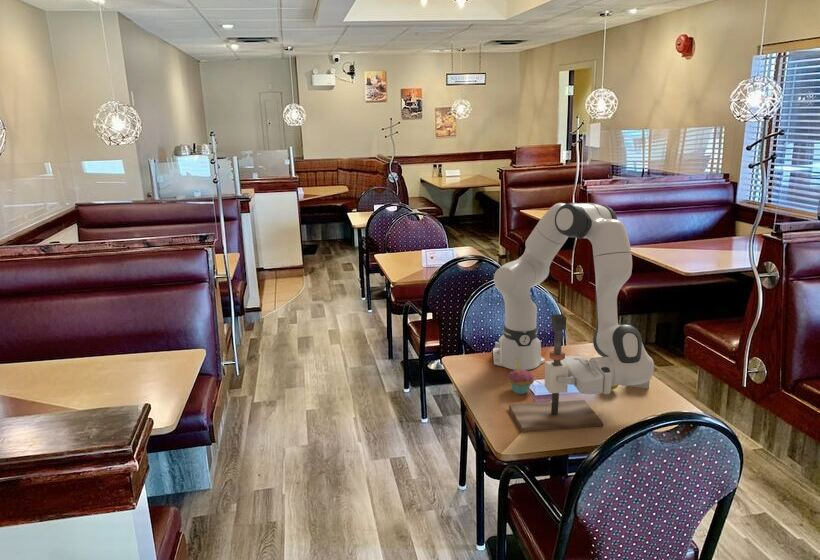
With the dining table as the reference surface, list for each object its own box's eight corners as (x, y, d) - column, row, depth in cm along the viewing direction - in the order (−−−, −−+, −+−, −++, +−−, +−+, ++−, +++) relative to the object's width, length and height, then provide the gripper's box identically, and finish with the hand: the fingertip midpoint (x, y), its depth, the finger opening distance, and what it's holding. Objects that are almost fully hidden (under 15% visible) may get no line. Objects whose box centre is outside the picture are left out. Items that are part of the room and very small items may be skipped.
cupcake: (518, 398, 203) (519, 363, 200) (501, 389, 210) (502, 355, 207) (538, 392, 208) (540, 358, 204) (521, 383, 215) (522, 350, 212)
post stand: (509, 408, 196) (511, 310, 188) (584, 404, 199) (589, 306, 190) (522, 432, 182) (525, 326, 174) (602, 427, 184) (609, 322, 176)
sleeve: (544, 386, 190) (545, 361, 188) (561, 385, 191) (562, 360, 188) (549, 393, 185) (551, 367, 183) (567, 392, 186) (568, 366, 183)
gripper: (586, 349, 197) (543, 352, 196) (613, 376, 177) (565, 379, 176) (585, 368, 199) (542, 370, 197) (611, 396, 179) (564, 399, 178)
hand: (553, 374), depth 187 cm, fingers closed on sleeve, 5 cm apart
